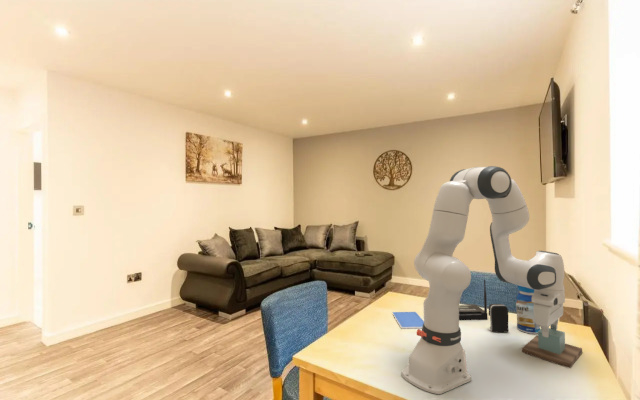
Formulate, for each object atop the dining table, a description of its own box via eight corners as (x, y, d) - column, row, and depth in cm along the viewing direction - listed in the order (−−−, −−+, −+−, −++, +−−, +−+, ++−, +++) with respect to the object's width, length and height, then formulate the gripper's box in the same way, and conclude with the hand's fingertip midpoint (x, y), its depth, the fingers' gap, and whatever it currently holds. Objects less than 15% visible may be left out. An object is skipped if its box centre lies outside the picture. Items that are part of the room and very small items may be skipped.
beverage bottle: (545, 334, 124) (544, 286, 124) (524, 334, 124) (523, 286, 124) (531, 326, 132) (530, 280, 132) (512, 326, 132) (511, 281, 132)
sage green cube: (560, 354, 105) (559, 337, 105) (538, 347, 110) (537, 331, 110) (565, 348, 109) (564, 332, 109) (544, 342, 114) (543, 326, 114)
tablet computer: (391, 314, 152) (391, 311, 152) (416, 313, 151) (416, 311, 151) (401, 330, 132) (401, 327, 132) (429, 329, 132) (429, 326, 132)
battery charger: (504, 329, 130) (503, 302, 130) (509, 332, 126) (508, 305, 126) (487, 328, 130) (487, 302, 130) (492, 332, 127) (491, 305, 127)
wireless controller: (455, 323, 138) (453, 286, 139) (443, 312, 152) (442, 278, 153) (498, 322, 138) (497, 285, 138) (482, 311, 152) (481, 277, 152)
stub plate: (570, 368, 99) (569, 353, 99) (521, 352, 110) (521, 338, 110) (582, 352, 109) (581, 338, 109) (536, 339, 120) (536, 326, 120)
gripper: (547, 288, 118) (548, 323, 118) (529, 298, 106) (530, 337, 106) (568, 291, 113) (568, 328, 113) (551, 303, 101) (552, 344, 101)
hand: (550, 332), depth 109 cm, fingers open, 8 cm apart
